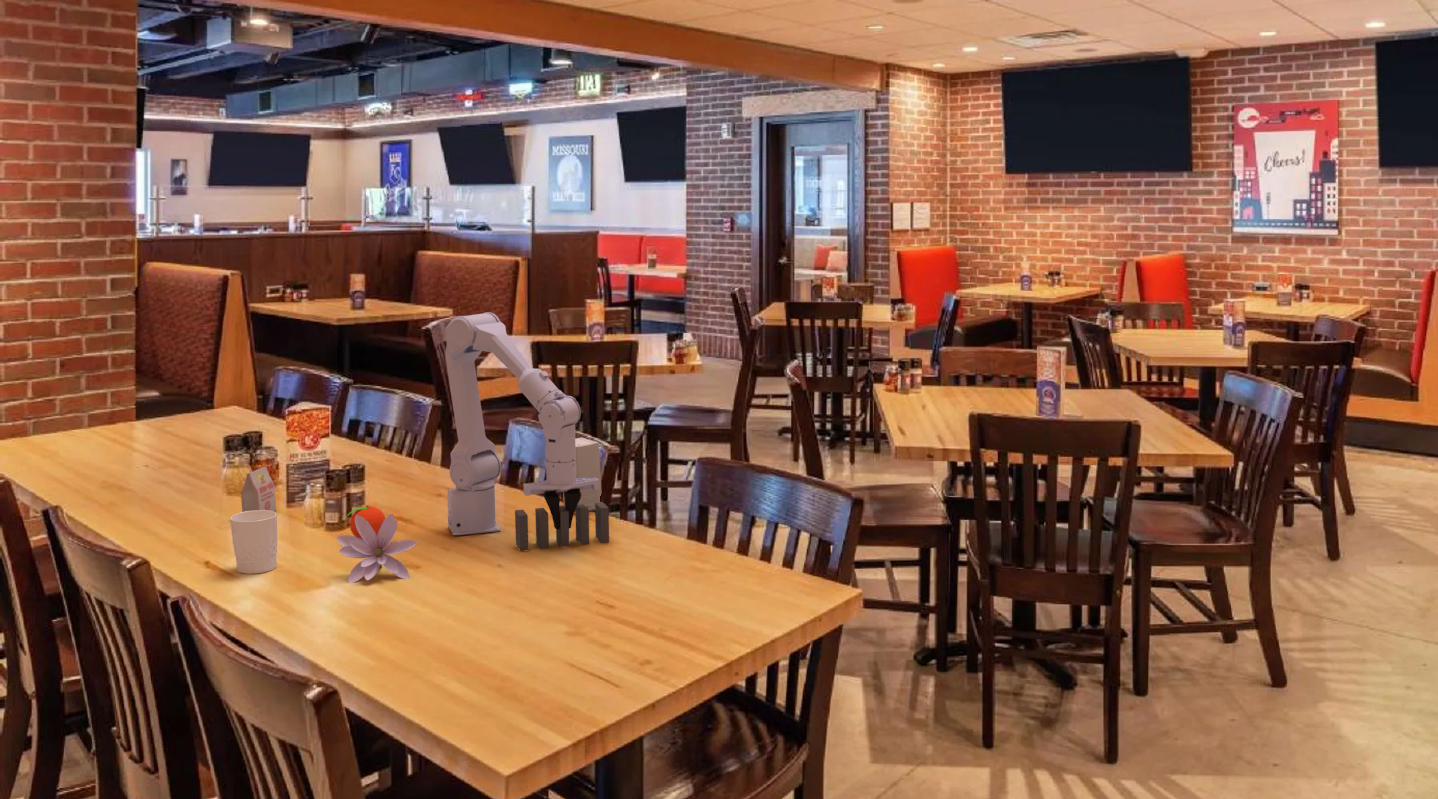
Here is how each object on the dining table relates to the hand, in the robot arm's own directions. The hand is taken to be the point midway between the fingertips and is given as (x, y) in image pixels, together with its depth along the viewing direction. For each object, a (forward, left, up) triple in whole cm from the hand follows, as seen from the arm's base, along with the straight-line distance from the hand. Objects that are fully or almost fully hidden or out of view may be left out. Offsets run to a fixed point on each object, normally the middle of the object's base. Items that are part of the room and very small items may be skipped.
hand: (562, 527), depth 230 cm
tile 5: (+8, 0, -3) cm, 9 cm away
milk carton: (-56, +42, -3) cm, 70 cm away
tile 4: (+4, 0, -3) cm, 5 cm away
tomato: (-36, +15, -3) cm, 39 cm away
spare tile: (0, 0, -3) cm, 3 cm away
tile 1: (-8, 0, -3) cm, 9 cm away
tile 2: (-4, 0, -3) cm, 5 cm away
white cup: (-56, +4, -3) cm, 56 cm away
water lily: (-36, -8, -3) cm, 37 cm away
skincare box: (+10, +25, -3) cm, 27 cm away
